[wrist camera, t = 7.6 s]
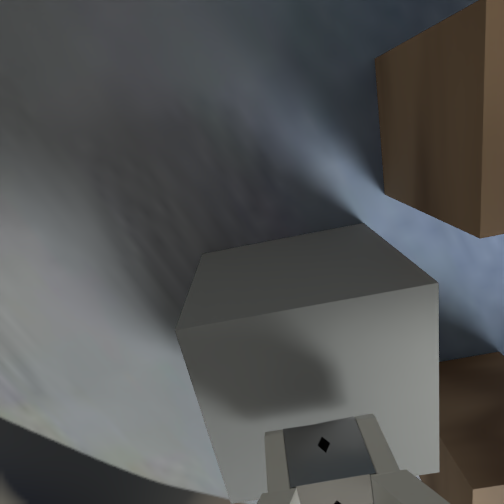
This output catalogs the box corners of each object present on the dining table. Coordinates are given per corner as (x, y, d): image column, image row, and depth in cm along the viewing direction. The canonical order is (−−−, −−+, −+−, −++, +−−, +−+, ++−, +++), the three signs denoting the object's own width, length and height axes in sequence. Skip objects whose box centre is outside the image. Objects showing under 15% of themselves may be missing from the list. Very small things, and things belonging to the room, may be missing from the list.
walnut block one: (515, 26, 12) (780, -77, 6) (508, 168, 13) (708, 197, 8) (374, 59, 12) (493, -9, 6) (384, 194, 14) (485, 241, 8)
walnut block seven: (498, 351, 16) (635, 471, 11) (493, 426, 18) (610, 565, 12) (396, 368, 17) (476, 495, 11) (401, 441, 18) (473, 584, 13)
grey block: (362, 222, 14) (438, 282, 9) (374, 355, 17) (439, 472, 11) (202, 252, 15) (174, 330, 9) (236, 379, 17) (231, 503, 11)
